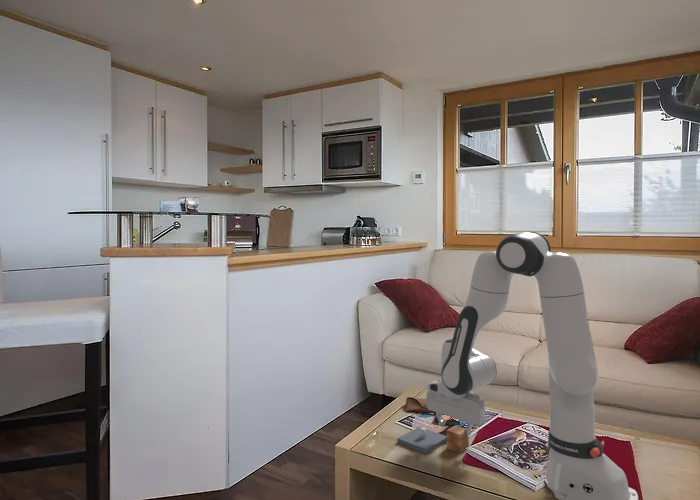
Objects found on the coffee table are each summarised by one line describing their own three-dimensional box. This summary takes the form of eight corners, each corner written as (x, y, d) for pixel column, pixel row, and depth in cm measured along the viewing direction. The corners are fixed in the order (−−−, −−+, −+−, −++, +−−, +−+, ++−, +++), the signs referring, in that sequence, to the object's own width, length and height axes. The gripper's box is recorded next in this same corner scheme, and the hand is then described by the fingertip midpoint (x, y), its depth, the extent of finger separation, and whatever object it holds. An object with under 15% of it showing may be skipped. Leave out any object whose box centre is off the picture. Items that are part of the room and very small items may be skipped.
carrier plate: (448, 441, 158) (448, 428, 158) (426, 454, 149) (426, 440, 149) (419, 430, 166) (419, 418, 166) (397, 442, 158) (397, 429, 158)
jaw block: (468, 447, 153) (468, 429, 153) (460, 453, 149) (460, 434, 149) (455, 443, 156) (455, 425, 156) (446, 448, 153) (446, 430, 153)
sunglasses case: (402, 412, 183) (403, 394, 186) (405, 415, 189) (406, 398, 192) (449, 416, 178) (449, 398, 181) (451, 419, 184) (451, 401, 187)
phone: (436, 413, 179) (477, 417, 174) (436, 416, 180) (477, 420, 174) (432, 421, 172) (475, 426, 167) (432, 424, 172) (475, 429, 167)
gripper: (489, 393, 147) (488, 436, 148) (434, 378, 161) (434, 418, 162) (479, 399, 142) (478, 443, 143) (423, 383, 157) (423, 423, 157)
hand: (454, 430), depth 153 cm, fingers open, 8 cm apart
